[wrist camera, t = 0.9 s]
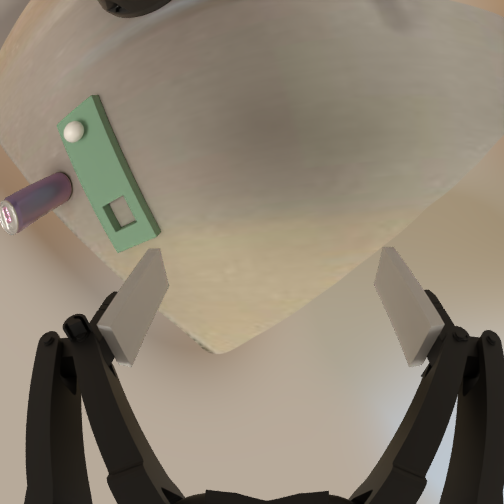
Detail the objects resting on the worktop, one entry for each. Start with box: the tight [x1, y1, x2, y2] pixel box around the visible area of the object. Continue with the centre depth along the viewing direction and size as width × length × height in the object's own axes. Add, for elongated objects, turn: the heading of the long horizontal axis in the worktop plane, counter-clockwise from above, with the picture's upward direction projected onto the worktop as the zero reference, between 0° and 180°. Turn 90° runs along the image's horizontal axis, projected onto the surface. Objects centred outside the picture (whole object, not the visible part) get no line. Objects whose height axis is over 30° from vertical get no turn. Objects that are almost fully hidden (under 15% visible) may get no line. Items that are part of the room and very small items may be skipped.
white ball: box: [64, 121, 84, 143], centre depth 32 cm, size 4×4×4 cm
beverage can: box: [0, 172, 72, 235], centre depth 33 cm, size 6×6×15 cm
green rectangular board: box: [57, 95, 161, 253], centre depth 38 cm, size 26×9×2 cm, turn 21°
